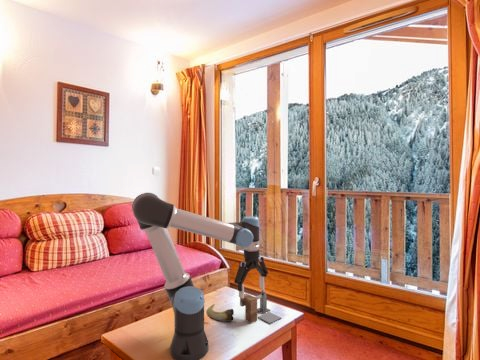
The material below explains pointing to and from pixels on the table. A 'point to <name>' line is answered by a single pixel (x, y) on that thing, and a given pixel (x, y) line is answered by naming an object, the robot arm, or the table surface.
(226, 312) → the claw
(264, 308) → the grey lever handle
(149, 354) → the table surface
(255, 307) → the tan brick
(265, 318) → the mat
